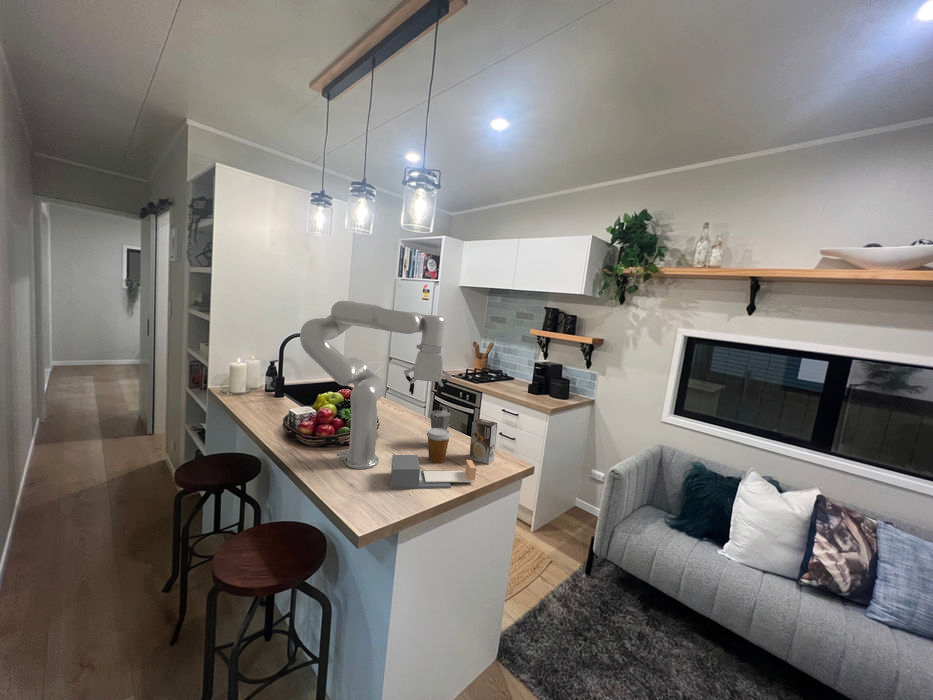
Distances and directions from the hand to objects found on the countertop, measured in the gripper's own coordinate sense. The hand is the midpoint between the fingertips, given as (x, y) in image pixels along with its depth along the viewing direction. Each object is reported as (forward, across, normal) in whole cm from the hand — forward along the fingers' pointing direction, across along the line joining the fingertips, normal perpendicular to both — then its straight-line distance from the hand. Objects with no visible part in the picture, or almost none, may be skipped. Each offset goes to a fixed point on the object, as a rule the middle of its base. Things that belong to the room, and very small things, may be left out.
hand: (425, 395), depth 137 cm
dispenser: (+28, +1, -9) cm, 30 cm away
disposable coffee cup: (+28, +9, +8) cm, 31 cm away
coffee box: (+28, +28, +9) cm, 40 cm away
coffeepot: (+29, +12, +24) cm, 39 cm away
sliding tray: (+27, +11, -9) cm, 31 cm away
